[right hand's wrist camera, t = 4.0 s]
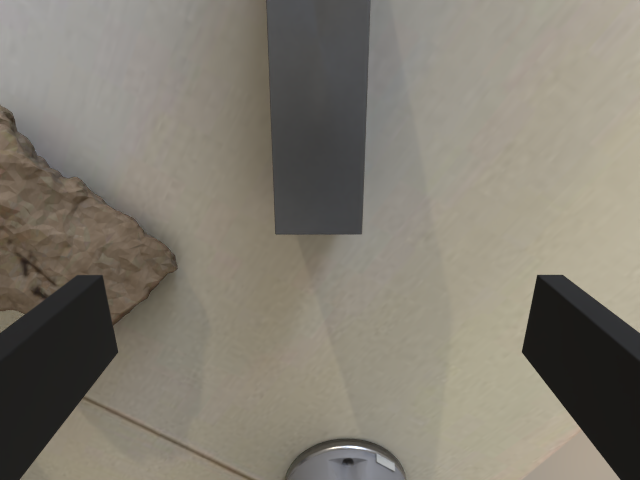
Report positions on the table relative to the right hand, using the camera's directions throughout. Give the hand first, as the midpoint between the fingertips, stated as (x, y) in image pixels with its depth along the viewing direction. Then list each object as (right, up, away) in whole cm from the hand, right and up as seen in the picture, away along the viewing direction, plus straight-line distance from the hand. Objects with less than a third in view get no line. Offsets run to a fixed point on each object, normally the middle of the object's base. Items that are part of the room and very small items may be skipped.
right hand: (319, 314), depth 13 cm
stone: (-25, +3, +28) cm, 37 cm away
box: (0, +18, +22) cm, 29 cm away
